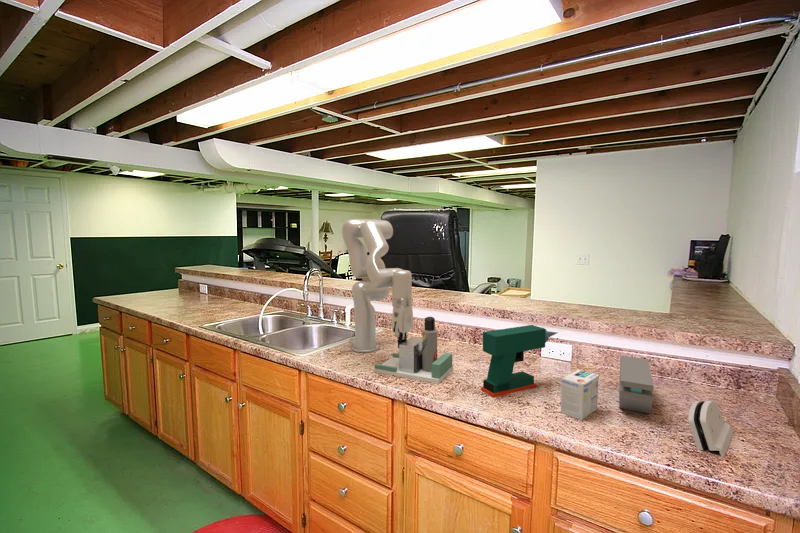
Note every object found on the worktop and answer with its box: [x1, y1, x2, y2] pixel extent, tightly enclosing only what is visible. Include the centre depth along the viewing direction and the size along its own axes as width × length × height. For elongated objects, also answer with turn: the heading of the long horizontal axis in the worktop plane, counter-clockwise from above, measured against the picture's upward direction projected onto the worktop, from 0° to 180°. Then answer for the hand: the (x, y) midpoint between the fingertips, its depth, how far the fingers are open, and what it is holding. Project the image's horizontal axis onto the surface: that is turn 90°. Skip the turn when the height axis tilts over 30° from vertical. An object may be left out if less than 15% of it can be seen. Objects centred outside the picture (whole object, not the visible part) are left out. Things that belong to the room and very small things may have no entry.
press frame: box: [374, 352, 454, 385], centre depth 147 cm, size 26×16×6 cm, turn 63°
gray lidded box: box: [618, 355, 655, 414], centre depth 118 cm, size 25×8×11 cm, turn 150°
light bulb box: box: [560, 369, 600, 421], centre depth 113 cm, size 11×7×11 cm, turn 131°
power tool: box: [480, 324, 559, 398], centre depth 132 cm, size 32×7×20 cm, turn 115°
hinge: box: [688, 400, 734, 458], centre depth 98 cm, size 17×5×10 cm, turn 133°
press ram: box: [398, 336, 422, 373], centre depth 147 cm, size 7×12×10 cm, turn 153°
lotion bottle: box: [421, 316, 438, 372], centre depth 144 cm, size 6×6×20 cm
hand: (402, 348), depth 149 cm, fingers closed
